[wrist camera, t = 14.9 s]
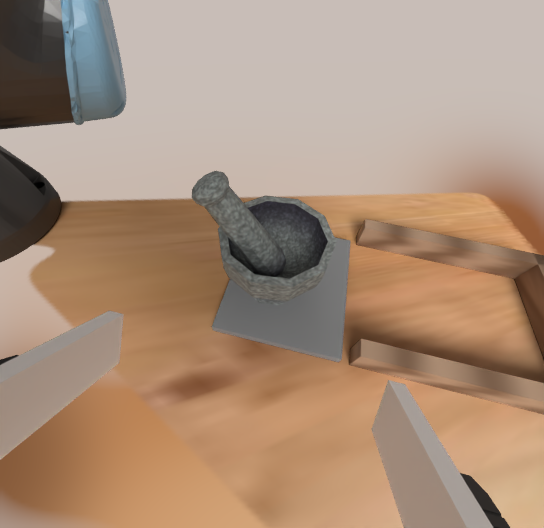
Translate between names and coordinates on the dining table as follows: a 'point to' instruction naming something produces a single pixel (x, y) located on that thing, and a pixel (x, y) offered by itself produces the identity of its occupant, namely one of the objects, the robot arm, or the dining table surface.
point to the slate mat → (294, 313)
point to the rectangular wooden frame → (441, 372)
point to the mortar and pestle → (267, 240)
